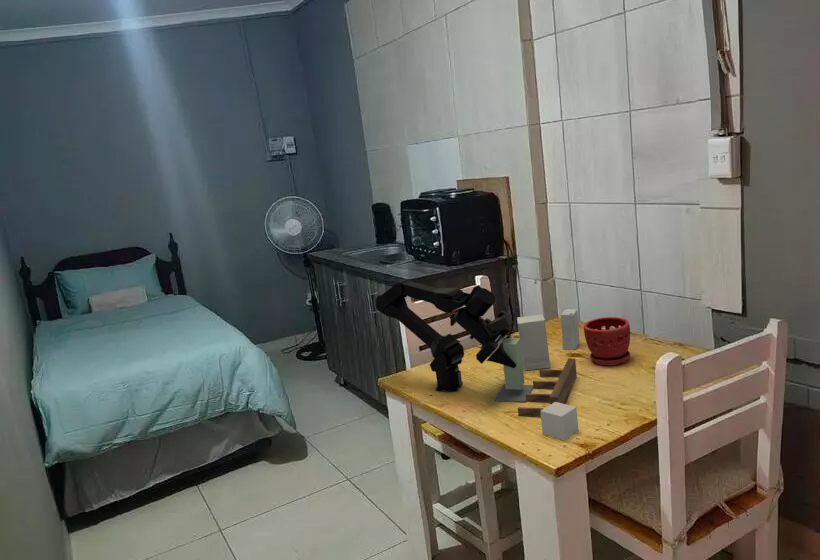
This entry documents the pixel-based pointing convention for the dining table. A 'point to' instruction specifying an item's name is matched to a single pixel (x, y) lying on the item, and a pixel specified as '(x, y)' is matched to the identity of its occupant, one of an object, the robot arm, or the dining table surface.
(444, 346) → the robot arm
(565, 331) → the skincare box
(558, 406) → the light grey cube
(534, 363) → the skincare box
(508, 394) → the slate mat
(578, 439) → the dining table surface
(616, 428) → the dining table surface
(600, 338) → the plant pot
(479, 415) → the dining table surface
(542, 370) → the lane rack
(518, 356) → the sage block
